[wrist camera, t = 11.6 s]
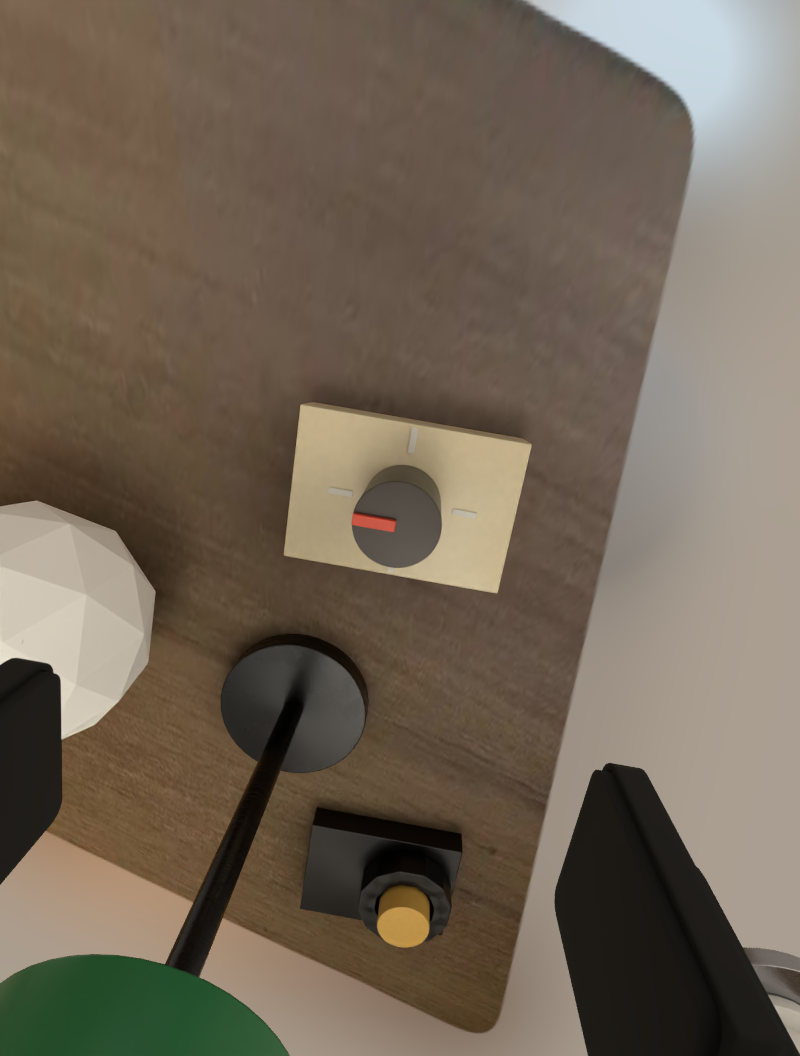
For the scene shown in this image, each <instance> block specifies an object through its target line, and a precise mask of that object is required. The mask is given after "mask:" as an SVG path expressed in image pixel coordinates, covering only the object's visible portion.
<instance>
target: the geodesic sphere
mask: <svg viewBox="0 0 800 1056" xmlns="http://www.w3.org/2000/svg"><path fill="white" fill-rule="evenodd" d="M155 593H156V591H155V590H154V588H153V587H152V585H151V584H150V582H149V581H148V579H147V578H146V576H145V575H144V573H143V572H142V570H141V569H140V567H139V566H138V564H137V563H136V561H135V560H134V558H133V557H132V555H131V554H130V552H129V551H128V549H127V547H126V546H125V544H124V543H123V541H122V540H121V538H120V537H119V535H118V534H117V532H116V531H114V530H112V529H109V528H106V527H104V526H101V525H99V524H96V523H94V522H91V521H88V520H86V519H83V518H81V517H78V516H75V515H73V514H70V513H68V512H65V511H63V510H60V509H57V508H55V507H52V506H50V505H47V504H44V503H42V502H39V501H31V502H24V503H18V504H12V505H6V506H0V665H1V664H2V663H4V662H5V661H7V660H9V659H11V658H21V659H27V660H32V661H38V662H44V663H48V664H50V665H51V666H52V668H53V672H54V673H55V674H57V675H59V677H60V680H61V738H62V739H64V738H66V737H68V736H71V735H73V734H75V733H78V732H80V731H82V730H84V729H87V728H89V727H91V726H93V725H95V724H96V723H97V722H98V721H99V720H100V719H101V718H102V717H103V716H104V715H105V714H106V713H107V712H108V711H109V710H110V709H111V708H112V707H113V706H114V705H115V704H116V703H117V702H118V701H119V700H120V699H121V698H122V696H123V695H124V694H125V692H126V691H127V690H128V689H129V687H130V686H131V685H132V683H133V682H134V681H135V680H136V678H137V677H138V676H139V674H140V673H141V672H142V671H143V669H144V668H145V667H146V665H147V664H148V661H149V651H150V642H151V632H152V622H153V613H154V603H155Z"/></svg>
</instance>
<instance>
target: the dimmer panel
mask: <svg viewBox="0 0 800 1056" xmlns="http://www.w3.org/2000/svg"><path fill="white" fill-rule="evenodd" d="M531 446H532V445H531V444H530V443H528V442H527V441H526V440H524V439H523V438H517V437H512V436H506V435H500V434H494V433H489V432H483V431H477V430H471V429H465V428H460V427H454V426H448V425H442V424H437V423H431V422H425V421H419V420H414V419H408V418H402V417H396V416H391V415H385V414H379V413H373V412H368V411H362V410H356V409H350V408H345V407H339V406H333V405H327V404H321V403H316V402H311V403H306V404H301V405H300V414H299V423H298V432H297V440H296V449H295V458H294V467H293V476H292V485H291V494H290V502H289V511H288V520H287V529H286V538H285V547H284V556H289V557H294V558H300V559H306V560H311V561H317V562H323V563H328V564H334V565H339V566H345V567H351V568H356V569H362V570H368V571H373V572H379V573H384V574H390V575H396V576H401V577H407V578H413V579H418V580H424V581H429V582H435V583H441V584H446V585H452V586H457V587H463V588H469V589H474V590H480V591H486V592H491V593H498V589H499V584H500V580H501V576H502V571H503V567H504V563H505V558H506V554H507V550H508V545H509V541H510V537H511V532H512V528H513V524H514V519H515V515H516V511H517V507H518V502H519V498H520V494H521V489H522V485H523V481H524V476H525V472H526V468H527V463H528V459H529V455H530V450H531ZM395 465H409V466H413V467H416V468H419V469H420V470H422V471H424V472H425V473H427V474H428V475H429V476H430V477H431V478H432V479H433V481H434V482H435V484H436V485H437V488H438V490H439V493H440V498H441V518H442V530H441V535H440V539H439V541H438V544H437V545H436V547H435V549H434V550H433V551H432V553H431V554H430V555H429V556H428V557H427V558H425V559H424V560H423V561H421V562H419V563H417V564H415V565H412V566H409V567H404V568H392V567H386V566H383V565H380V564H378V563H376V562H374V561H372V560H371V559H369V558H368V557H367V556H366V555H365V554H364V553H363V552H362V551H361V550H360V548H359V547H358V545H357V543H356V541H355V539H354V536H353V531H352V524H351V523H352V516H353V512H354V509H355V506H356V504H357V502H358V501H359V499H360V497H361V496H362V494H363V493H364V491H365V489H366V488H367V486H368V484H369V483H370V481H371V480H372V479H373V477H374V476H375V475H376V474H378V473H379V472H380V471H382V470H384V469H386V468H388V467H391V466H395Z"/></svg>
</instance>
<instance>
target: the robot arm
mask: <svg viewBox="0 0 800 1056" xmlns="http://www.w3.org/2000/svg"><path fill="white" fill-rule="evenodd" d="M61 803H62V738H61V680H60V677H59V675H57V674H55V673H54V672H53V668H52V666H51V665H50V664H48V663H44V662H38V661H32V660H27V659H21V658H11V659H9V660H7V661H5V662H4V663H2V664H1V665H0V884H1V883H2V882H3V881H4V880H5V878H6V877H7V876H8V875H9V874H10V872H11V871H12V870H13V869H14V868H15V867H16V865H17V864H18V863H19V862H20V861H21V859H22V858H23V857H24V856H25V855H26V853H27V852H28V851H29V850H30V849H31V847H32V846H33V845H34V844H35V843H36V841H37V840H38V839H39V838H40V837H41V836H42V834H43V833H44V832H45V831H46V830H47V828H48V827H49V826H50V825H51V824H52V822H53V821H54V819H55V818H56V816H57V814H58V812H59V809H60V807H61ZM555 911H556V917H557V921H558V925H559V930H560V934H561V939H562V943H563V948H564V952H565V956H566V961H567V965H568V969H569V974H570V978H571V983H572V987H573V991H574V996H575V1000H576V1004H577V1009H578V1013H579V1018H580V1022H581V1027H582V1031H583V1035H584V1039H585V1044H586V1048H587V1053H588V1056H800V1005H798V1004H796V1003H795V1002H793V1001H790V1000H787V999H785V998H782V997H779V996H774V995H769V994H767V992H766V990H765V988H764V986H763V985H762V983H761V981H760V979H759V977H758V975H757V973H756V972H755V970H754V968H753V966H752V964H751V962H750V960H749V959H748V957H747V955H746V953H745V951H744V949H743V947H742V946H741V944H740V942H739V940H738V938H737V936H736V934H735V933H734V931H733V929H732V927H731V925H730V923H729V922H728V920H727V918H726V916H725V914H724V913H723V910H722V908H721V907H720V905H719V903H718V901H717V899H716V897H715V895H714V894H713V892H712V890H711V888H710V886H709V884H708V882H707V881H706V879H705V877H704V876H703V874H702V873H701V871H700V870H699V868H697V867H696V866H695V864H694V862H693V860H692V858H691V857H690V855H689V853H688V851H687V849H686V847H685V845H684V843H683V842H682V840H681V838H680V836H679V834H678V832H677V830H676V828H675V826H674V825H673V823H672V821H671V819H670V817H669V815H668V813H667V811H666V809H665V808H664V806H663V804H662V802H661V800H660V798H659V796H658V794H657V793H656V791H655V789H654V787H653V785H652V783H651V781H650V779H649V777H648V776H647V774H646V773H645V771H644V770H642V769H640V768H635V767H629V766H624V765H618V764H612V763H608V764H606V765H605V766H604V768H603V770H602V771H601V770H595V771H594V772H593V774H592V776H591V779H590V782H589V785H588V789H587V791H586V795H585V798H584V801H583V804H582V807H581V810H580V813H579V817H578V820H577V823H576V826H575V829H574V832H573V835H572V839H571V842H570V845H569V848H568V851H567V855H566V857H565V861H564V864H563V867H562V870H561V873H560V876H559V879H558V883H557V886H556V890H555Z"/></svg>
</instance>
